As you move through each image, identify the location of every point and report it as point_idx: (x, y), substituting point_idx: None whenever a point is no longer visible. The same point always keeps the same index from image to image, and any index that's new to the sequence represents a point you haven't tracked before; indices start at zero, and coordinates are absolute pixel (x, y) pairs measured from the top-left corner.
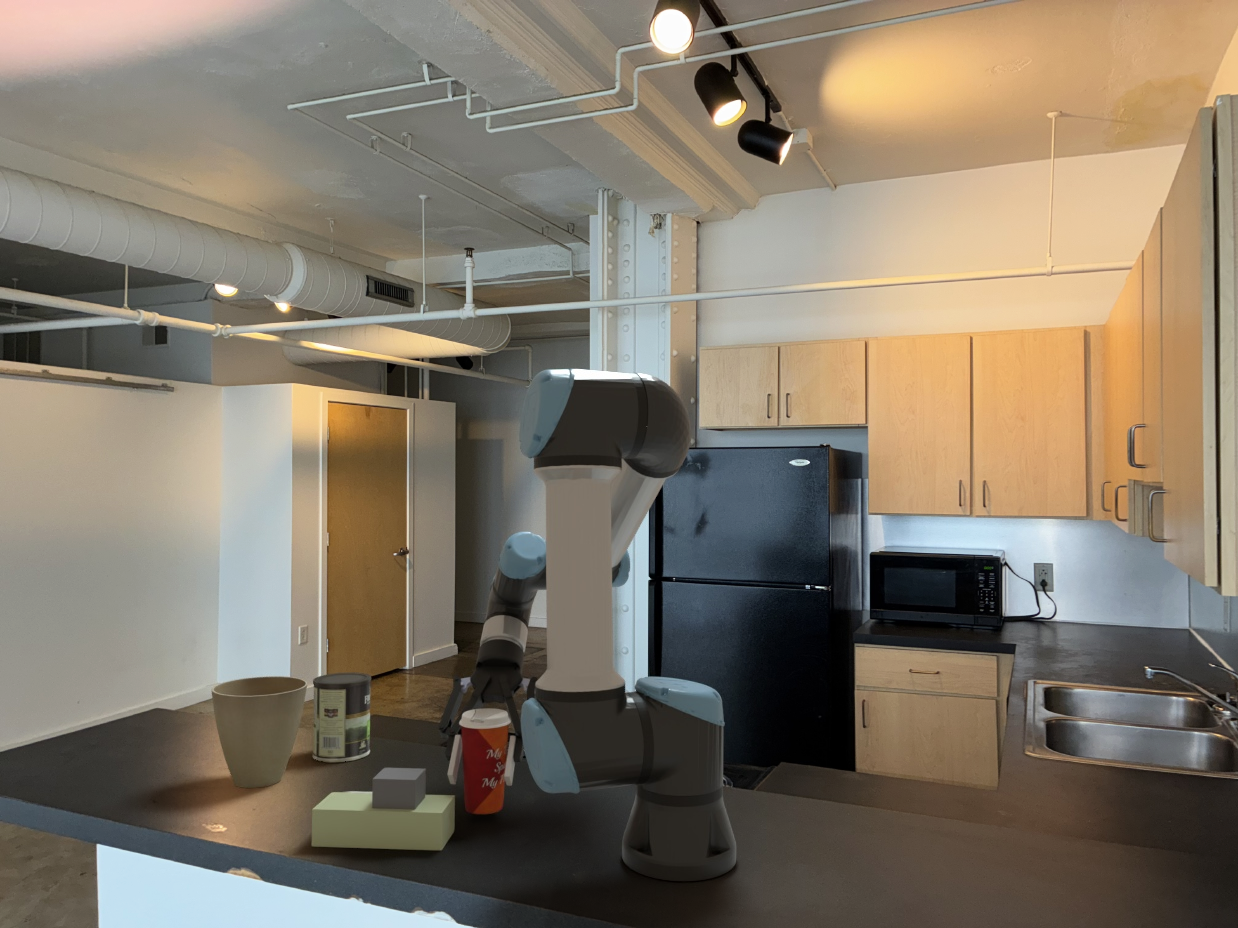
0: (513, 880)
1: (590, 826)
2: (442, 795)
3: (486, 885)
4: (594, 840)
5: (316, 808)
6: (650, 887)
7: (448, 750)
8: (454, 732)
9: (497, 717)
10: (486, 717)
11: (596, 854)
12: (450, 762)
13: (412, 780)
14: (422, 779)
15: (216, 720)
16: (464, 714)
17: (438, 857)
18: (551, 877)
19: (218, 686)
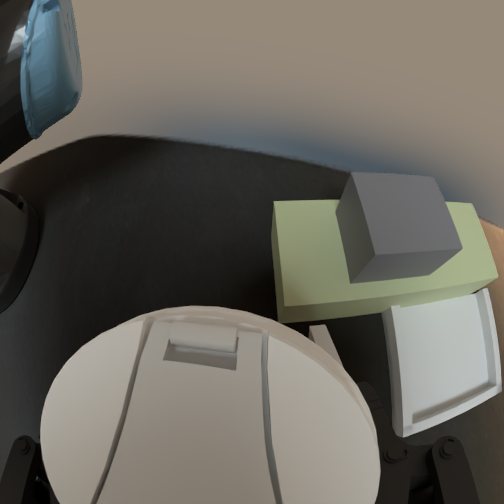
0: (152, 172)
1: (55, 356)
2: (315, 302)
3: (182, 157)
4: (53, 300)
5: (469, 206)
6: (38, 190)
7: (368, 398)
8: (382, 451)
9: (68, 362)
10: (139, 366)
11: (57, 254)
12: (334, 350)
13: (357, 173)
14: (360, 234)
15: None
16: (359, 442)
17: (266, 214)
18: (111, 187)
19: None
